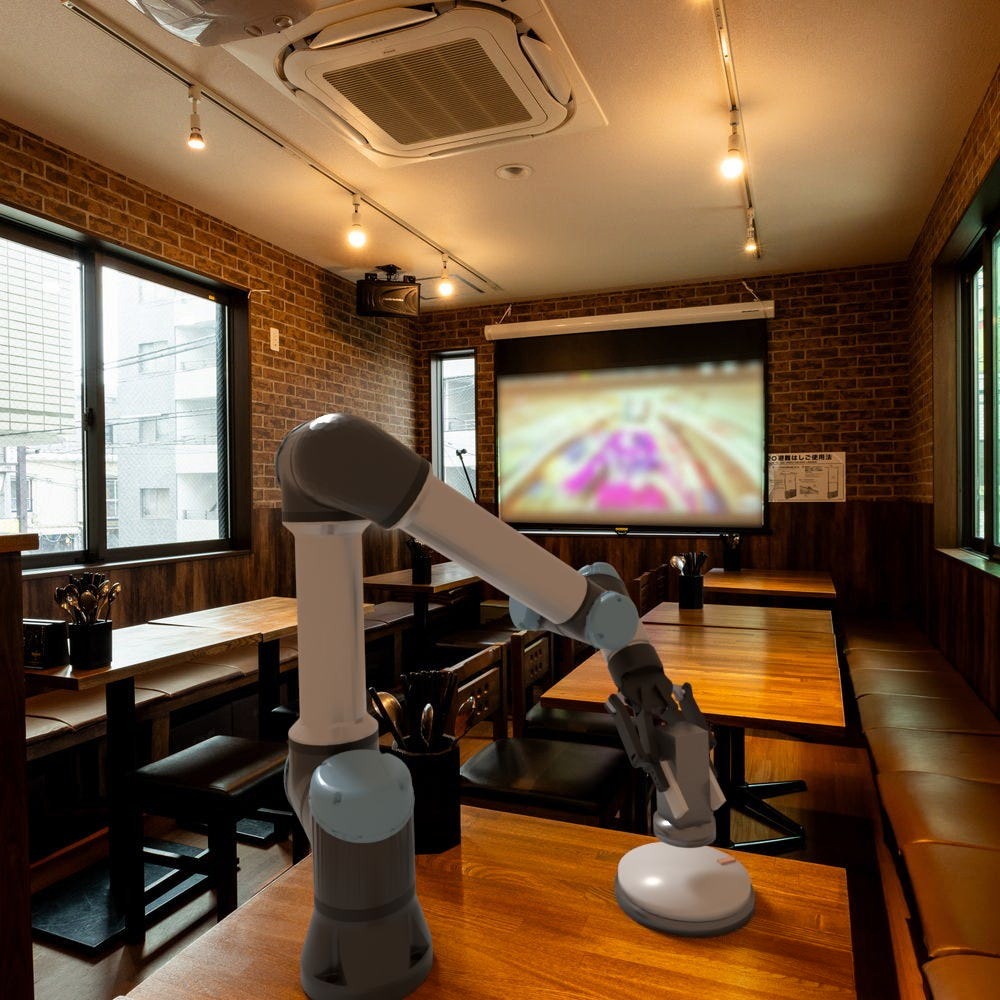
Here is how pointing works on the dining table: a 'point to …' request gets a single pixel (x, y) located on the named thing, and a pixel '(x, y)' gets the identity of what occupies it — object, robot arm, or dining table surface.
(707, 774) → the square post on disc
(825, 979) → the dining table surface
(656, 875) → the turntable platter
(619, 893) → the base
